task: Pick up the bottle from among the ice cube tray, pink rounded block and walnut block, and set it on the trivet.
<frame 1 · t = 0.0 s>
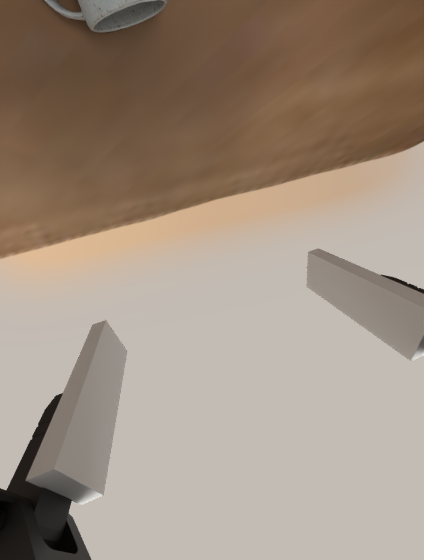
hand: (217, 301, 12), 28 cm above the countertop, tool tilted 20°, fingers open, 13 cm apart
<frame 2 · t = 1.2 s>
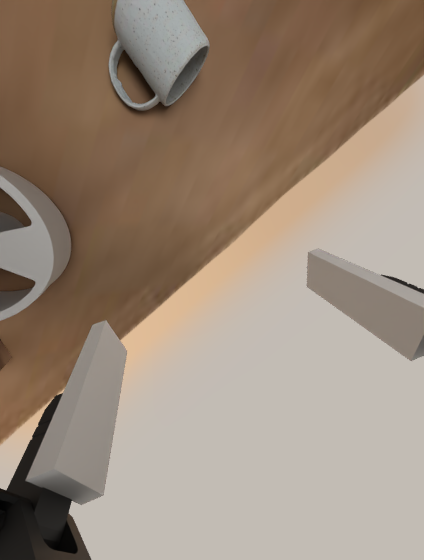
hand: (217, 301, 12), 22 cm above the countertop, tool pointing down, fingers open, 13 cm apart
ceramic mug: (152, 75, 25), on the countertop
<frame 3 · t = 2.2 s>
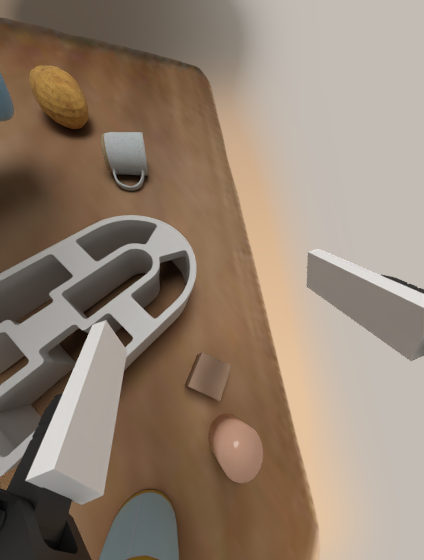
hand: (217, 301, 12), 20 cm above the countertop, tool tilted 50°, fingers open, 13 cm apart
ceramic mug: (131, 175, 44), on the countertop
walnut block: (204, 375, 29), on the countertop
pink rounded block: (226, 436, 26), on the countertop
potato: (71, 123, 47), on the countertop
bottle: (143, 529, 21), on the countertop
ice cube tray: (111, 313, 30), on the countertop
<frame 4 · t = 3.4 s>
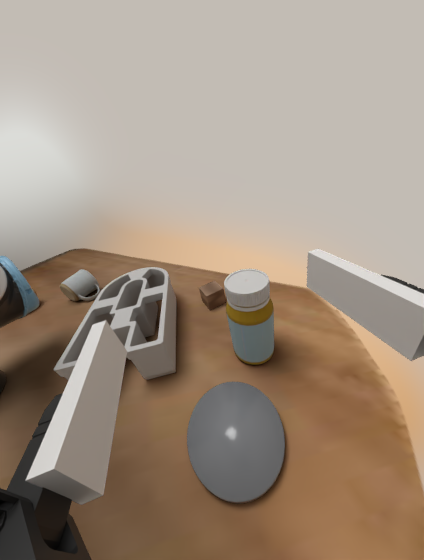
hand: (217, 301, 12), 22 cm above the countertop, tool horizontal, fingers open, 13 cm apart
ceramic mug: (89, 295, 63), on the countertop
walnut block: (214, 302, 48), on the countertop
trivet: (234, 432, 25), on the countertop
bottle: (253, 349, 35), on the countertop
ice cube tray: (144, 329, 45), on the countertop
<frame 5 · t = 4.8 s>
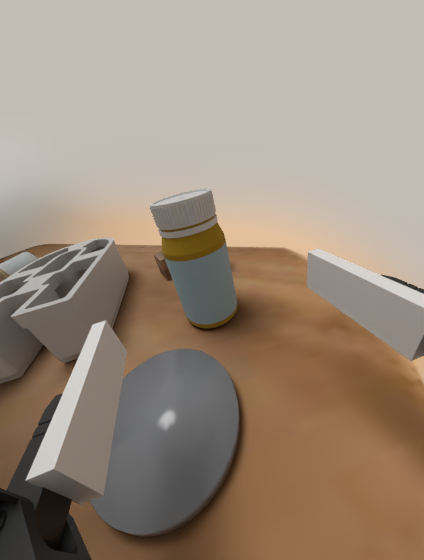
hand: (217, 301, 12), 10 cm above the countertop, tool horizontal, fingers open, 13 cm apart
ceramic mug: (35, 283, 53), on the countertop
walnut block: (174, 272, 40), on the countertop
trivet: (168, 418, 16), on the countertop
bottle: (213, 313, 26), on the countertop
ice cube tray: (83, 308, 36), on the countertop
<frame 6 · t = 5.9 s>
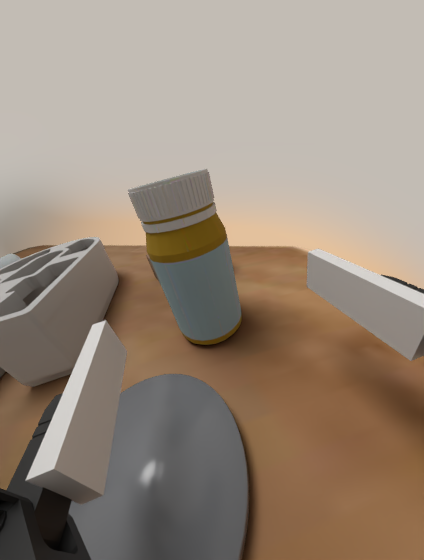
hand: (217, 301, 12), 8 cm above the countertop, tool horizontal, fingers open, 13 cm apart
ceramic mug: (21, 287, 49), on the countertop
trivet: (150, 478, 12), on the countertop
bottle: (212, 324, 22), on the countertop
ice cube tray: (65, 317, 32), on the countertop
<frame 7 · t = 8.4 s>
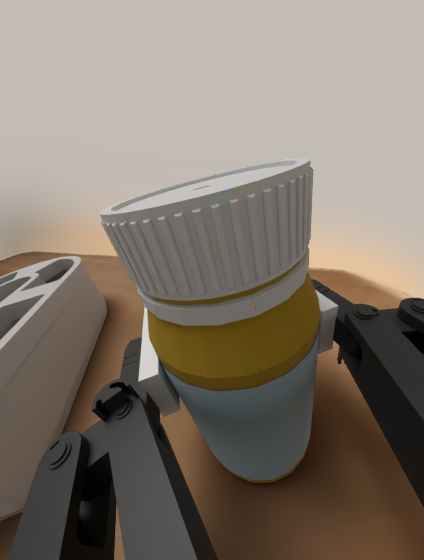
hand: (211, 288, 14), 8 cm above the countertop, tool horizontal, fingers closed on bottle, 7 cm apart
bottle: (254, 416, 14), on the countertop, touching gripper
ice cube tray: (31, 370, 23), on the countertop
when the fingers open (10 cm above the countertop, at t = 12.3 s): bottle drops 1 cm, resting on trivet.
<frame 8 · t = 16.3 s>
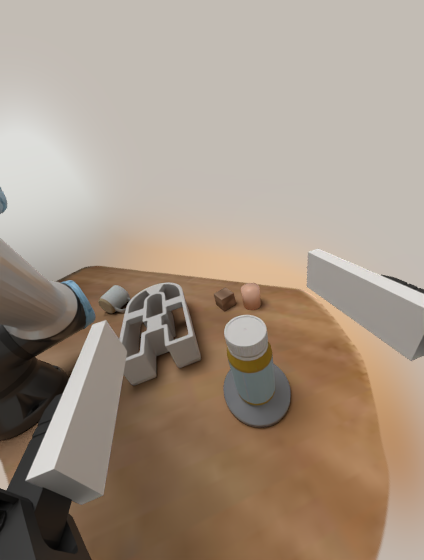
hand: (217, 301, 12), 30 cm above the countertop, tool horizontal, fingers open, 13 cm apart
ceramic mug: (122, 307, 72), on the countertop
walnut block: (226, 304, 60), on the countertop
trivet: (256, 390, 36), on the countertop
pink rounded block: (252, 304, 57), on the countertop
bottle: (255, 387, 36), point 1 cm above the countertop, touching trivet
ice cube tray: (165, 333, 55), on the countertop
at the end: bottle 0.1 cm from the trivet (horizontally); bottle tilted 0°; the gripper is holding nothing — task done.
